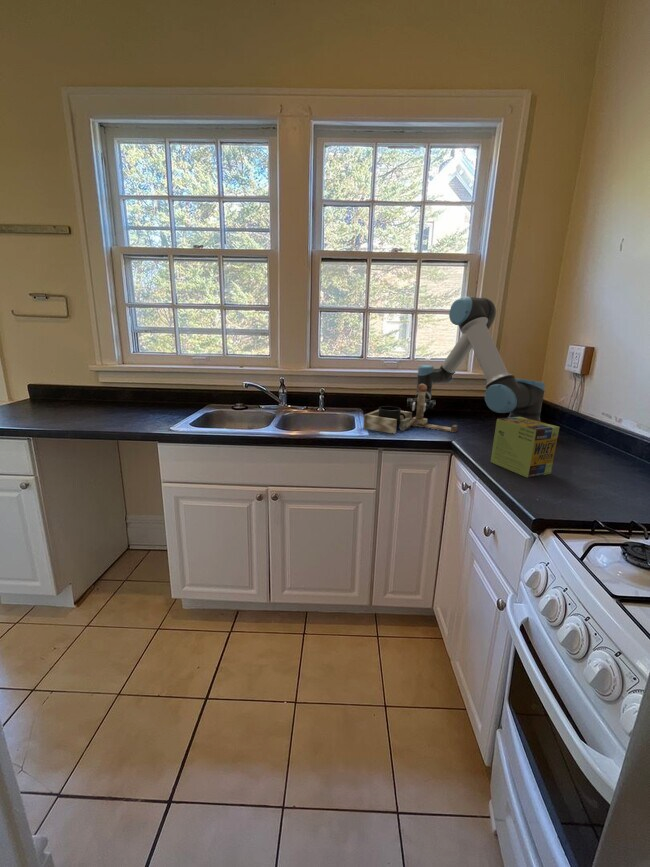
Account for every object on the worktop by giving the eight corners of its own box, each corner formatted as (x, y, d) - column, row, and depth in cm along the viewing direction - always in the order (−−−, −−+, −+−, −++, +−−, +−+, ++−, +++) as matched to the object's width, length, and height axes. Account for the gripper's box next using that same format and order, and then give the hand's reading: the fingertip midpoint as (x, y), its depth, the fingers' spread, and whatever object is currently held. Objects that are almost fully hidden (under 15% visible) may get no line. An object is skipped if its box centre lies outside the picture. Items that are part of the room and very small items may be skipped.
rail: (456, 430, 173) (457, 425, 172) (454, 432, 170) (455, 427, 169) (401, 421, 187) (401, 416, 186) (398, 423, 183) (398, 418, 183)
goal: (411, 424, 181) (412, 412, 179) (394, 433, 166) (395, 420, 164) (381, 420, 189) (382, 407, 187) (363, 428, 174) (363, 414, 172)
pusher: (427, 424, 180) (431, 383, 175) (413, 432, 167) (417, 388, 162) (414, 422, 184) (417, 382, 178) (400, 430, 170) (403, 386, 165)
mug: (407, 431, 170) (408, 410, 168) (379, 430, 170) (381, 410, 167) (402, 425, 180) (403, 406, 177) (376, 425, 179) (377, 405, 176)
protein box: (528, 478, 121) (536, 429, 116) (489, 462, 134) (496, 418, 130) (551, 474, 125) (560, 426, 120) (512, 458, 138) (519, 415, 134)
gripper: (439, 407, 193) (438, 418, 172) (404, 405, 198) (398, 414, 176) (441, 392, 191) (439, 401, 170) (405, 390, 196) (399, 398, 174)
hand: (418, 408), depth 173 cm, fingers open, 4 cm apart
